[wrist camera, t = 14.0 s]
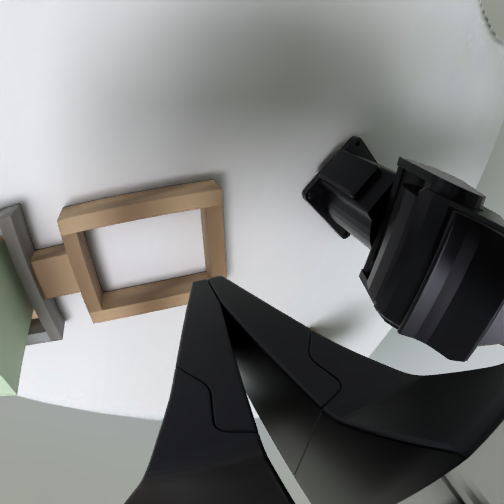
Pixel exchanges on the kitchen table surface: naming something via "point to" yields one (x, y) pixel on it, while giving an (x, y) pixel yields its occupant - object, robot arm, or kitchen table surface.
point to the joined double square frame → (80, 262)
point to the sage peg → (12, 323)
